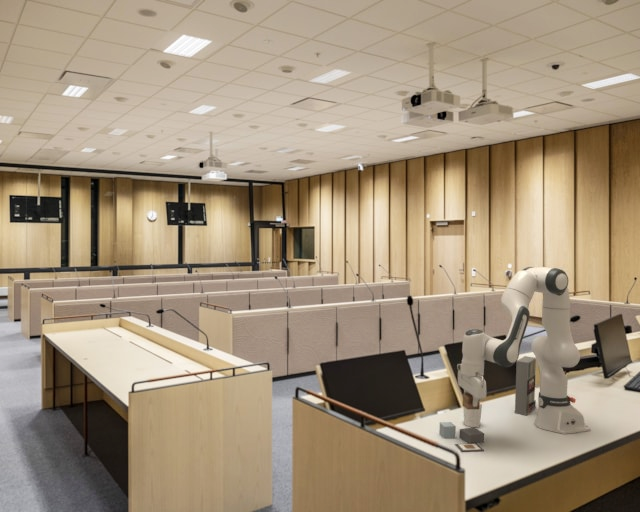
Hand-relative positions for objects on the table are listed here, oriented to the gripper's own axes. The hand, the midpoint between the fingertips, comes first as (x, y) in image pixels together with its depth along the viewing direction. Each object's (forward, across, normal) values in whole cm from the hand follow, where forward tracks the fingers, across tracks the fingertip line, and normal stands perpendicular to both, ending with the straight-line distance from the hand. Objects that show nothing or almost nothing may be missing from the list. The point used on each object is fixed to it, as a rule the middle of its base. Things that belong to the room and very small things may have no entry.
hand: (471, 403), depth 214 cm
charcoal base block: (+15, 0, -1) cm, 15 cm away
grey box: (+15, +33, -42) cm, 56 cm away
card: (+15, -8, +4) cm, 17 cm away
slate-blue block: (+15, +5, +8) cm, 18 cm away
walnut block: (+2, 0, 0) cm, 2 cm away
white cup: (+15, +17, -8) cm, 24 cm away
